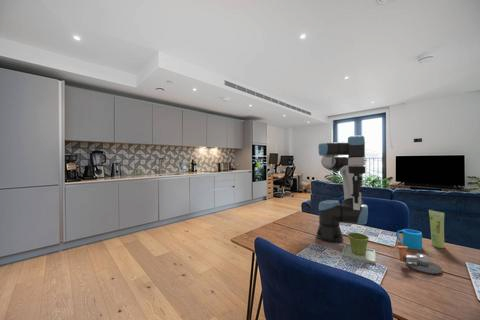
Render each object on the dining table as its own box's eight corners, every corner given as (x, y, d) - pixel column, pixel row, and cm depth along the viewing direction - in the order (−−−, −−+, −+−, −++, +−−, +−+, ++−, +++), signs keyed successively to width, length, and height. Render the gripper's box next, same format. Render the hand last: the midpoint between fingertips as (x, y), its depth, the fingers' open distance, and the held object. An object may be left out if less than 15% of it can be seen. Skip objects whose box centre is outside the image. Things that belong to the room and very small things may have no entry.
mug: (425, 247, 105) (425, 232, 105) (417, 250, 102) (416, 235, 102) (400, 239, 116) (400, 226, 116) (392, 242, 113) (391, 228, 113)
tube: (430, 246, 107) (429, 211, 107) (429, 243, 110) (428, 209, 111) (445, 249, 103) (444, 212, 103) (443, 245, 107) (442, 210, 107)
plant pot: (362, 259, 93) (362, 241, 93) (344, 251, 101) (343, 234, 101) (373, 254, 97) (373, 237, 97) (354, 247, 106) (354, 231, 106)
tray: (341, 256, 97) (341, 253, 97) (345, 246, 109) (344, 243, 109) (375, 264, 89) (375, 261, 89) (375, 252, 101) (375, 249, 101)
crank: (423, 261, 89) (423, 245, 89) (432, 266, 84) (431, 249, 84) (395, 260, 90) (394, 244, 90) (401, 265, 86) (401, 248, 86)
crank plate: (407, 269, 85) (406, 265, 85) (403, 257, 95) (403, 254, 95) (445, 278, 78) (445, 274, 78) (437, 264, 88) (437, 261, 88)
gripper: (364, 166, 87) (365, 213, 87) (366, 165, 108) (366, 202, 108) (345, 166, 91) (346, 211, 91) (350, 165, 112) (351, 201, 112)
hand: (357, 206), depth 99 cm, fingers open, 13 cm apart
